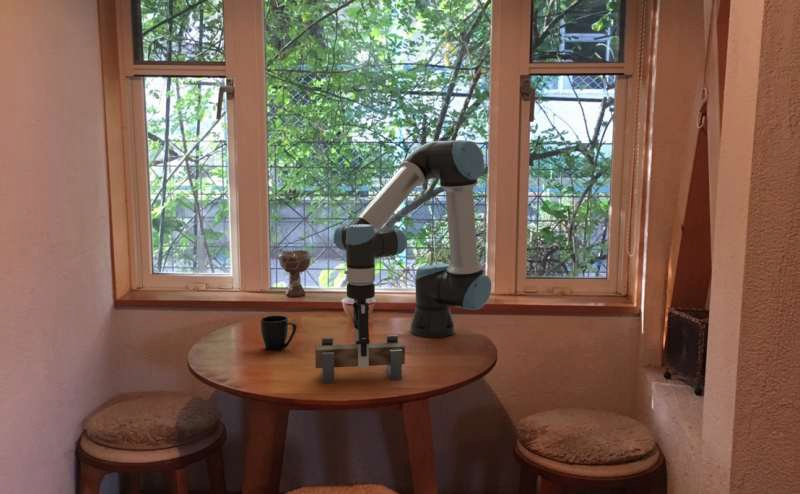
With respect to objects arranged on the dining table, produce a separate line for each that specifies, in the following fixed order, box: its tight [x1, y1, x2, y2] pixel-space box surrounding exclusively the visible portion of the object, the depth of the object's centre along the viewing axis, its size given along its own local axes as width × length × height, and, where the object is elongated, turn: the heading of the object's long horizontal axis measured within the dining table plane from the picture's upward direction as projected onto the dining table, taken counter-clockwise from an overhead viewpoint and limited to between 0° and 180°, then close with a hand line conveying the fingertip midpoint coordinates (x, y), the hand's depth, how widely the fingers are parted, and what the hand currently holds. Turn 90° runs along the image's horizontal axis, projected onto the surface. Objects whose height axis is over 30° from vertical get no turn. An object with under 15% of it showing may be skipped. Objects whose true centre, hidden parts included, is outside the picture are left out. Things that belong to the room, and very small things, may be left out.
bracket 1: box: [321, 337, 335, 384], centre depth 169 cm, size 3×8×10 cm, turn 8°
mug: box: [260, 315, 298, 352], centre depth 194 cm, size 8×12×10 cm
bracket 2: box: [386, 334, 403, 381], centre depth 171 cm, size 3×8×10 cm, turn 8°
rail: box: [314, 341, 406, 369], centre depth 170 cm, size 24×4×5 cm, turn 98°
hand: (361, 359), depth 170 cm, fingers open, 13 cm apart
